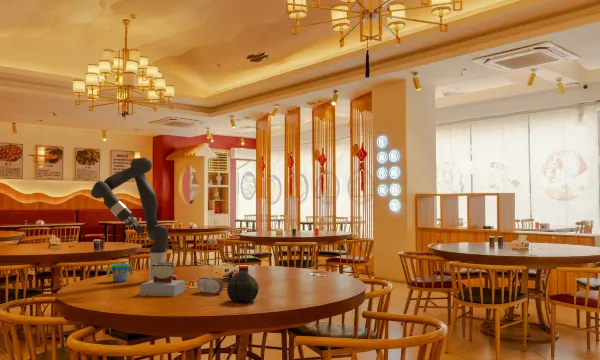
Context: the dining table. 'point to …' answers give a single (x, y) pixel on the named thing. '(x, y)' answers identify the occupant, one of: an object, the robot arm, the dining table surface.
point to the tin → (210, 285)
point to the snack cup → (120, 272)
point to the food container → (163, 272)
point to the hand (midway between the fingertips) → (142, 232)
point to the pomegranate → (174, 276)
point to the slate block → (162, 288)
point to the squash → (242, 287)
